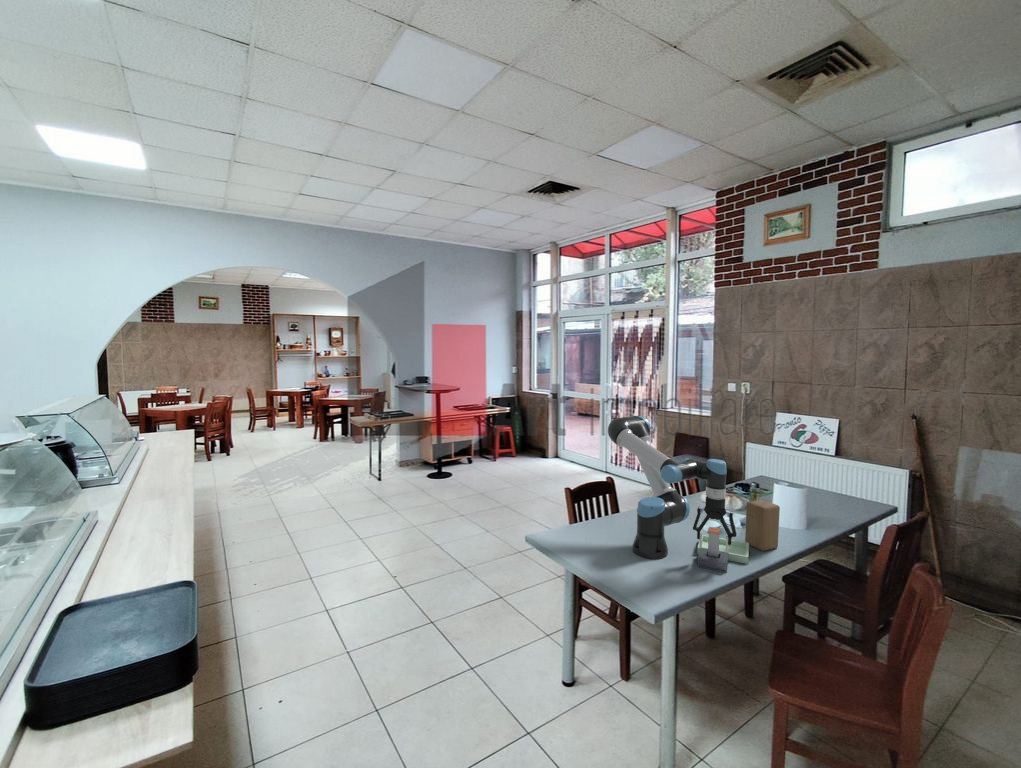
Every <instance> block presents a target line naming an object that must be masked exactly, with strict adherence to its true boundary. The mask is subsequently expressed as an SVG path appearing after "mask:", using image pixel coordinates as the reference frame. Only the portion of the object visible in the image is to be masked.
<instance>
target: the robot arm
mask: <svg viewBox="0 0 1021 768" xmlns="http://www.w3.org/2000/svg"><path fill="white" fill-rule="evenodd" d="M651 426H652V425H651V424H650V422H649V420H648V419H647V418H646V417H644V416H641V415H631V416H624V417H623V416H621V417H616V418H614V419H613V420H611V421H610V423H609V424H608V427H607V435H608V438H609V439H610V440H611V441H612V442H613V443H614V444H615V445H616V446H618V447H620V448H624V449H625V450H628V452H630V453H631V454H633V455H634V456H636V458H637V460H638V462H639V465H640V467H641V469H642V470H643V473H644V475H645V477H646V480H647V482H648V484H649V486H650V488H651V490H652V492H653V496H647V497H644V498H641V499H639V500H638V503H637V509H636V512H637V513H636V515H637V517H636V518H637V519H636V535H635V537H634V540H633V542H632V551H633V552H634V554H636V555H637V556H639V557H642V558H646V559H651V560H652V559H653V560H655V559H657V560H658V559H663V558H665V557H667V556H668V554H669V548H668V544H667V541H666V538H665V537H666V536H665V527H667V526H670V525H673V524H679V523H681V522H683V521H686V520H687V519H688V517H689V515H690V511H691V507H690V503H689V501H688V499H687V497H685V496H683V495H681V494H679V492H678V490H677V488H676V489H675V488H673V487H672V485H671V484H678V483H679V482H684V481H689V480H694V479H697V480H698V479H699V480H703V481H705V482H706V483H705V506H704V507H701V506H697V509H696V511H697V512H696V513H697V514H696V517H695V520H694V523H693V526H692V530H693V531H696V539H697V540H699V541H700V547H699V548H702V535H703V528H704V527H705V525H706V524H707V522H708V521H709V520H710V519H711V520H717V521H719V522H720V523H721V525H722V527H723V530H724V531H725V533H726V537H725V539H726V553H728V545H731V540H733V538H736V537H737V530H736V526H735V522H734V517H733V515H734V512H733V511H728V510H726V495H727V494H726V493H727V487H726V485H727V472H728V471H727V463H726V461H725V460H722V459H717V458H710V459H708V460H706V461H701V460H697V459H694V458H684V459H683V460H682V461H680V462H677V461H675V460H673V459H672V458H670V457H669V456H667V455H665V454H664V453H663V452H661V451H660V450H658V449H657V448H655V447H653V446H652V443H651V442H650V441H651V439H652V437H651V434H652V431H651V430H652V427H651ZM704 512H705V514H706V515H705V517H704V519H703V520H702V522H701V523H700V525H699V526H698V524H699V521H700V517H701V514H703V513H704ZM725 515H727V518H728V521H729V524H730V528H729V526H728V524H727V522H726V520H725V517H724V516H725ZM730 529H731V531H730Z"/></svg>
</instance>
